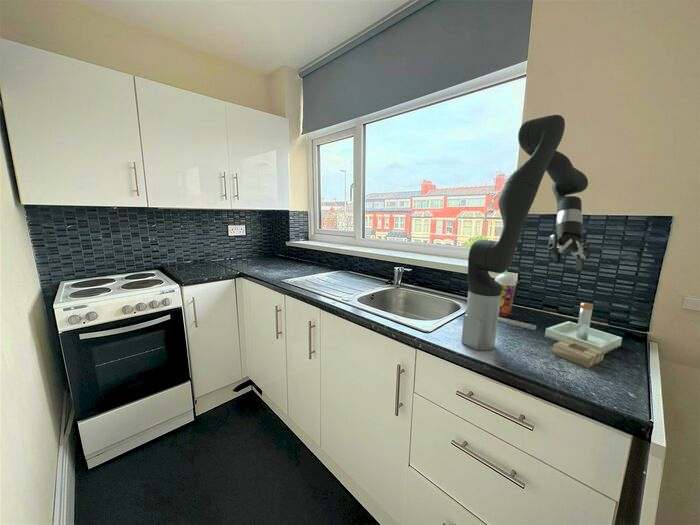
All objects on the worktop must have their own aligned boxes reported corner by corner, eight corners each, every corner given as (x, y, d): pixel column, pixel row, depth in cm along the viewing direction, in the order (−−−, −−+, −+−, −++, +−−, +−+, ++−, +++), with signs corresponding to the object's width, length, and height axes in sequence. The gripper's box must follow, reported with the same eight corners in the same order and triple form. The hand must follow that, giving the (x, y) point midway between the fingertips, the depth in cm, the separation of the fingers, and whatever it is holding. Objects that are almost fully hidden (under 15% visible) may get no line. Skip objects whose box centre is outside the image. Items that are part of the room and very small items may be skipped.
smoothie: (492, 309, 123) (498, 264, 119) (514, 314, 117) (520, 267, 114) (487, 314, 117) (492, 267, 113) (509, 319, 111) (516, 270, 108)
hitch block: (587, 368, 77) (589, 357, 77) (551, 353, 85) (553, 344, 84) (602, 360, 81) (604, 350, 81) (567, 347, 89) (568, 338, 89)
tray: (598, 356, 83) (600, 347, 83) (544, 336, 96) (545, 328, 96) (620, 346, 90) (622, 337, 90) (567, 328, 103) (568, 321, 103)
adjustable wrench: (536, 329, 104) (537, 325, 103) (532, 334, 99) (533, 330, 99) (467, 311, 120) (468, 307, 120) (461, 315, 116) (462, 311, 115)
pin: (585, 341, 91) (590, 305, 89) (573, 337, 94) (579, 303, 92) (589, 339, 93) (595, 304, 91) (578, 336, 95) (583, 302, 94)
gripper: (560, 215, 97) (560, 259, 93) (596, 226, 98) (597, 269, 94) (543, 223, 104) (541, 264, 100) (576, 233, 106) (576, 274, 101)
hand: (568, 267), depth 97 cm, fingers open, 8 cm apart
